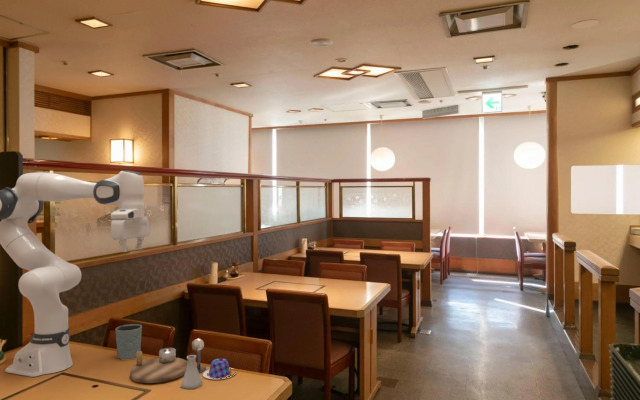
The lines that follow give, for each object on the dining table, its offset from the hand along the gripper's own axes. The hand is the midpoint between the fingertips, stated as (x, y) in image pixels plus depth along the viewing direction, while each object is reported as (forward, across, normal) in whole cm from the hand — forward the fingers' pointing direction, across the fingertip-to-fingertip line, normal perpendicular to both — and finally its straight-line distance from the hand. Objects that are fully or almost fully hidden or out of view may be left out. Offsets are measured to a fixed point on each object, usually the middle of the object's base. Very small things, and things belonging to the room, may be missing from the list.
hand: (131, 250), depth 167 cm
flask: (+46, +9, +28) cm, 54 cm away
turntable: (+45, +1, +12) cm, 47 cm away
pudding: (+46, -2, +34) cm, 57 cm away
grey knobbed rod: (+45, -4, +25) cm, 52 cm away
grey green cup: (+45, -15, -10) cm, 49 cm away
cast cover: (+43, -5, +12) cm, 44 cm away
